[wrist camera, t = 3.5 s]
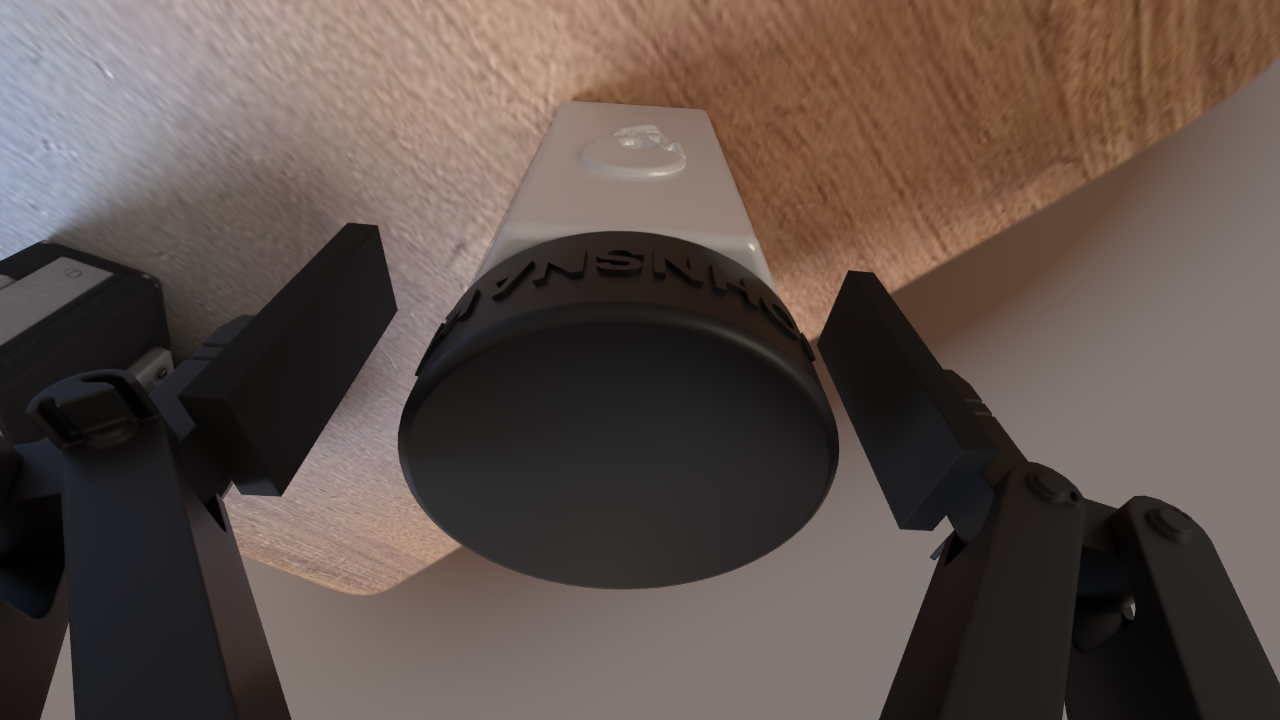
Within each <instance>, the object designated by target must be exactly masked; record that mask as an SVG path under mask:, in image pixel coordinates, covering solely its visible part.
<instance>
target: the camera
mask: <svg viewBox="0 0 1280 720" xmlns="http://www.w3.org/2000/svg"><path fill="white" fill-rule="evenodd" d="M100 369H121V370H124V371H127V372H130V373H133V375H134V376H135V377H136V379H137V380H138V381H139V383H140V384H141V385H142V387H143V388H144V390H145V391H146V393H147V394H148V395H149V394H150V393H151V392H152V391H153V390H154V389H155V388H156V387H157V386H158V385H159V384H160V383H161V382H162V381H163V380H164V379H165V378H166V377H168V376H169V375H170V374H171V373H172V372H173V371H174V365H173V360H172V354H171V351H170V344H169V337H168V330H167V324H166V317H165V310H164V304H163V297H162V291H161V284H160V282H159V280H158V279H157V278H154V277H152V276H150V275H148V274H145V273H142V272H139V271H136V270H134V269H131V268H128V267H125V266H122V265H119V264H116V263H113V262H110V261H107V260H104V259H101V258H98V257H95V256H92V255H89V254H85V253H82V252H79V251H76V250H73V249H70V248H67V247H64V246H61V245H58V244H55V243H52V242H49V241H46V240H42V241H40V242H38V243H36V244H34V245H32V246H30V247H28V248H26V249H24V250H22V251H20V252H18V253H16V254H14V255H12V256H10V257H8V258H6V259H4V260H2V261H0V435H1V436H2V437H3V438H4V439H5V440H6V441H7V442H8V443H9V444H10V445H11V446H12V445H19V444H26V443H32V442H39V441H45V440H49V439H48V438H47V437H46V435H45V434H44V433H43V432H42V431H41V430H40V429H39V428H38V427H37V426H36V425H35V424H34V423H33V422H32V421H31V420H30V419H29V418H28V417H27V416H26V414H25V411H26V408H27V406H28V403H29V402H30V401H31V400H32V399H33V398H34V397H35V396H36V395H38V394H39V393H40V392H41V391H42V390H44V389H46V388H48V387H49V386H51V385H53V384H55V383H57V382H58V381H60V380H63V379H66V378H69V377H71V376H74V375H77V374H80V373H84V372H89V371H95V370H100ZM232 485H233V481H232V480H231V478H230V477H229V478H228V479H227V480H226V482H225V483H224V484H223V486H222V487H221V488H220V490H219V491H218V492H217V493H218V495H219V496H220V498H221V499H222V500H223V499H224V497H225V496H226V495H227V493H228V492H229V490H230V488H231V486H232Z"/></svg>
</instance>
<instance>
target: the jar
mask: <svg viewBox="0 0 1280 720" xmlns="http://www.w3.org/2000/svg"><path fill="white" fill-rule="evenodd" d="M445 319H446V320H447V321H446V323H445V324H444V323H442V324H441V325H440V327H439V328H438V330H437V332H436V333H435V335H434V337H433V339H432V341H431V343H430V345H429V347H428V349H427V351H426V352H425V354H424V356H423V358H422V360H421V362H420V364H419V366H418V368H417V371H416V373H415V376H418V379H417V381H416V383H415V385H414V387H413V389H412V391H411V393H410V395H409V397H408V399H407V401H406V403H405V406H404V409H403V412H402V416H401V420H400V425H399V431H398V453H399V460H400V465H401V468H402V471H403V475H404V478H405V480H406V482H407V484H408V487H409V489H410V491H411V493H412V495H413V496H414V498H415V499H416V501H417V503H418V504H419V505H420V507H421V508H422V509H423V511H424V512H425V513H426V514H427V516H428V517H429V518H430V519H431V520H432V521H433V522H434V523H435V524H436V525H437V526H438V527H439V528H441V529H442V530H443V531H444V532H445V533H446V534H448V535H449V536H450V537H451V538H453V539H454V540H456V541H457V542H458V543H460V544H461V545H463V546H464V547H466V548H468V549H469V550H471V551H473V552H474V553H476V554H478V555H480V556H482V557H484V558H485V559H487V560H490V561H492V562H494V563H496V564H498V565H500V566H503V567H505V568H508V569H511V570H513V571H516V572H519V573H522V574H525V575H528V576H532V577H535V578H539V579H542V580H546V581H551V582H556V583H561V584H566V585H572V586H579V587H589V588H599V589H648V588H659V587H667V586H674V585H680V584H685V583H691V582H695V581H699V580H703V579H707V578H711V577H714V576H718V575H721V574H724V573H727V572H729V571H732V570H735V569H737V568H740V567H742V566H744V565H747V564H749V563H751V562H753V561H755V560H757V559H759V558H761V557H763V556H765V555H766V554H768V553H770V552H771V551H773V550H775V549H776V548H778V547H779V546H781V545H782V544H784V543H785V542H786V541H788V540H789V539H790V538H792V537H793V536H794V535H795V534H796V533H797V532H799V531H800V530H801V529H802V528H803V527H804V526H805V525H806V524H807V523H808V522H809V520H811V518H812V517H813V516H814V515H815V513H816V512H817V510H818V509H819V508H820V507H821V505H822V503H823V502H824V500H825V498H826V496H827V495H828V493H829V490H830V488H831V485H832V483H833V480H834V478H835V474H836V470H837V466H838V458H839V439H838V431H837V426H836V421H835V418H834V415H833V412H832V409H831V407H830V404H829V402H828V400H827V397H826V395H825V392H824V390H823V388H822V385H821V383H820V380H819V378H818V375H817V373H816V370H815V368H814V366H813V363H812V362H813V361H814V360H815V356H814V354H813V352H812V349H811V347H810V345H809V343H808V341H807V339H806V337H805V336H804V334H803V333H800V331H799V329H798V327H797V325H796V323H795V321H794V319H793V317H792V316H791V314H790V312H789V311H788V309H787V308H786V306H785V305H784V304H783V302H782V301H781V299H780V297H779V294H778V291H777V289H776V286H775V283H774V281H773V278H772V276H771V273H770V270H769V268H768V265H767V262H766V260H765V257H764V255H763V252H762V249H761V247H760V244H759V242H758V239H757V237H756V234H755V231H754V229H753V226H752V224H751V221H750V219H749V216H748V214H747V211H746V209H745V206H744V204H743V201H742V199H741V196H740V194H739V191H738V189H737V186H736V184H735V181H734V179H733V176H732V174H731V171H730V169H729V166H728V164H727V161H726V159H725V156H724V154H723V151H722V149H721V146H720V144H719V141H718V139H717V136H716V134H715V131H714V129H713V126H712V124H711V121H710V118H709V116H708V114H707V112H706V111H704V110H702V109H693V108H677V107H661V106H645V105H630V104H615V103H600V102H585V101H570V100H568V101H564V102H562V103H561V105H560V106H559V108H558V110H557V112H556V114H555V116H554V118H553V120H552V122H551V124H550V126H549V128H548V130H547V132H546V134H545V135H544V137H543V139H542V141H541V143H540V145H539V147H538V149H537V151H536V153H535V155H534V157H533V159H532V161H531V163H530V165H529V167H528V169H527V171H526V172H525V174H524V176H523V178H522V180H521V182H520V184H519V186H518V188H517V190H516V192H515V194H514V196H513V198H512V200H511V202H510V204H509V206H508V208H507V210H506V211H505V214H504V216H503V218H502V220H501V222H500V224H499V226H498V228H497V230H496V232H495V234H494V236H493V238H492V240H491V242H490V244H489V246H488V248H487V250H486V252H485V254H484V256H483V258H482V260H481V262H480V265H479V267H478V269H477V271H476V273H475V275H474V277H473V279H472V281H471V283H470V285H469V287H468V289H467V291H466V293H465V294H464V295H463V296H462V297H461V299H460V300H459V301H458V303H457V304H456V306H455V307H454V309H453V310H452V311H451V312H450V313H449V315H448V316H447V317H446V318H445Z"/></svg>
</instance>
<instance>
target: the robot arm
mask: <svg viewBox="0 0 1280 720" xmlns="http://www.w3.org/2000/svg"><path fill="white" fill-rule="evenodd" d="M397 311H398V310H397V306H396V301H395V297H394V293H393V289H392V284H391V280H390V276H389V271H388V267H387V263H386V259H385V254H384V250H383V246H382V242H381V237H380V233H379V229H378V225H367V224H357V223H347V224H346V225H345V226H344V227H343V228H342V229H341V230H340V231H339V232H338V233H337V234H336V235H335V236H334V237H333V238H332V239H331V240H330V241H329V242H328V243H327V244H326V245H325V246H324V247H323V248H322V249H321V250H320V251H319V252H318V253H317V254H316V255H315V257H314V258H313V259H312V260H311V261H310V262H309V263H308V264H307V265H306V266H305V267H304V268H303V269H302V270H301V271H300V272H299V273H298V274H297V275H296V276H295V277H294V278H293V279H292V280H291V281H290V282H289V283H288V284H287V285H286V286H285V287H284V288H283V289H282V290H281V291H280V292H279V293H278V294H277V295H276V296H275V297H274V298H273V299H272V300H271V301H270V302H269V303H268V304H267V305H266V306H265V307H264V308H263V309H262V310H261V311H260V312H259V313H258V314H257V315H256V316H254V315H242V316H240V317H238V318H236V319H234V320H232V321H230V322H229V323H227V324H225V325H223V326H221V327H219V328H218V329H217V330H216V331H215V332H214V333H213V334H212V335H211V336H210V337H209V338H208V339H207V340H205V341H204V342H203V346H199V347H198V348H197V349H196V350H195V351H194V352H193V353H192V354H191V355H190V356H189V360H187V359H185V360H184V361H183V362H182V363H181V364H180V365H179V366H178V367H177V368H176V369H175V370H174V371H173V372H172V373H171V374H170V375H169V376H168V377H166V378H165V379H164V380H163V381H162V382H161V383H160V384H159V385H158V386H157V387H156V388H155V389H154V390H153V391H152V392H151V393H150V394H149V395H148V394H147V393H146V391H145V390H144V388H143V387H142V385H141V384H140V383H139V381H138V380H137V379H136V377H135V376H134V375H133V373H130V372H127V371H124V370H121V369H100V370H95V371H89V372H84V373H80V374H77V375H74V376H71V377H69V378H66V379H63V380H60V381H58V382H57V383H55V384H53V385H51V386H49V387H48V388H46V389H44V390H42V391H41V392H40V393H39V394H38V395H36V396H35V397H34V398H33V399H32V400H31V401H30V402H29V403H28V406H27V408H26V411H25V414H26V416H27V417H28V418H29V419H30V420H31V421H32V422H33V423H34V424H35V425H36V426H37V427H38V428H39V429H40V430H41V431H42V432H43V433H44V434H45V435H46V437H47V438H48V439H49V440H45V441H39V442H32V443H26V444H19V445H12V446H11V445H10V444H9V443H8V442H7V441H6V440H5V439H4V438H3V437H2V436H1V435H0V720H40V718H41V714H42V711H43V708H44V704H45V701H46V698H47V694H48V691H49V687H50V684H51V681H52V677H53V674H54V670H55V667H56V664H57V660H58V657H59V653H60V650H61V647H62V643H63V640H64V636H65V633H66V629H67V626H68V623H69V626H70V642H71V659H72V674H73V690H74V706H75V720H291V717H290V713H289V710H288V707H287V704H286V701H285V697H284V694H283V691H282V688H281V684H280V681H279V678H278V675H277V672H276V669H275V665H274V662H273V659H272V655H271V652H270V649H269V646H268V643H267V640H266V636H265V633H264V630H263V627H262V623H261V620H260V617H259V614H258V611H257V607H256V604H255V601H254V598H253V594H252V591H251V588H250V585H249V581H248V578H247V575H246V572H245V569H244V566H243V562H242V559H241V556H240V553H239V549H238V546H237V543H236V540H235V536H234V533H233V530H232V527H231V524H230V520H229V517H228V514H227V511H226V508H225V504H224V502H223V500H222V499H221V498H220V496H219V495H218V493H217V492H218V491H219V490H220V488H221V487H222V486H223V484H224V483H225V482H226V480H227V479H228V478H229V477H230V478H231V480H232V481H233V483H234V484H235V486H236V487H237V489H238V490H239V492H240V493H241V494H242V495H261V496H280V497H281V496H282V495H283V493H284V491H285V490H286V488H287V487H288V485H289V483H290V482H291V480H292V479H293V477H294V475H295V474H296V472H297V471H298V469H299V467H300V466H301V464H302V463H303V461H304V459H305V458H306V456H307V455H308V453H309V451H310V450H311V448H312V447H313V445H314V443H315V442H316V440H317V439H318V437H319V435H320V434H321V432H322V431H323V429H324V427H325V426H326V424H327V423H328V421H329V419H330V418H331V416H332V415H333V413H334V411H335V410H336V408H337V407H338V405H339V403H340V402H341V400H342V399H343V397H344V395H345V394H346V392H347V391H348V389H349V387H350V386H351V384H352V383H353V381H354V379H355V378H356V376H357V375H358V373H359V371H360V370H361V368H362V367H363V365H364V363H365V362H366V360H367V359H368V357H369V355H370V354H371V352H372V351H373V349H374V347H375V346H376V344H377V343H378V341H379V339H380V338H381V336H382V335H383V333H384V331H385V330H386V328H387V327H388V325H389V323H390V322H391V320H392V319H393V317H394V315H395V314H396V312H397ZM817 347H818V349H819V351H820V354H821V356H822V358H823V360H824V363H825V365H826V367H827V369H828V371H829V374H830V376H831V378H832V380H833V382H834V384H835V387H836V389H837V391H838V393H839V396H840V398H841V400H842V402H843V405H844V407H845V409H846V411H847V413H848V416H849V418H850V420H851V422H852V425H853V427H854V429H855V431H856V433H857V436H858V438H859V440H860V442H861V444H862V447H863V449H864V451H865V453H866V456H867V458H868V460H869V462H870V464H871V467H872V469H873V471H874V473H875V475H876V477H877V480H878V482H879V484H880V487H881V489H882V491H883V493H884V495H885V498H886V500H887V502H888V504H889V507H890V509H891V511H892V513H893V515H894V518H895V520H896V522H897V524H898V526H899V529H906V530H924V531H933V530H934V528H935V527H936V526H937V525H938V524H939V523H940V521H941V520H942V519H943V518H944V517H945V516H946V515H947V517H948V519H949V521H950V522H951V524H952V526H953V528H954V531H953V532H952V533H951V534H950V535H949V536H948V537H947V538H946V540H945V541H944V542H943V543H942V544H941V545H940V546H939V547H938V548H937V549H936V550H935V552H934V553H933V554H932V555H931V556H930V558H931V559H933V560H936V558H937V557H938V556H939V555H940V557H939V560H938V563H937V565H936V568H935V571H934V573H933V576H932V579H931V582H930V584H929V587H928V590H927V593H926V595H925V598H924V600H923V603H922V606H921V608H920V611H919V614H918V616H917V619H916V622H915V624H914V627H913V630H912V633H911V635H910V638H909V641H908V643H907V646H906V649H905V651H904V654H903V657H902V659H901V662H900V665H899V667H898V671H897V673H896V675H895V678H894V681H893V684H892V686H891V689H890V692H889V694H888V697H887V700H886V703H885V705H884V708H883V710H882V713H881V716H880V718H879V720H1062V716H1063V707H1064V701H1065V707H1066V713H1067V719H1068V720H1280V683H1279V681H1278V679H1277V677H1276V675H1275V673H1274V671H1273V669H1272V667H1271V664H1270V662H1269V660H1268V658H1267V656H1266V654H1265V652H1264V650H1263V648H1262V646H1261V644H1260V641H1259V639H1258V637H1257V635H1256V633H1255V631H1254V629H1253V627H1252V625H1251V623H1250V621H1249V619H1248V617H1247V614H1246V612H1245V610H1244V608H1243V606H1242V604H1241V602H1240V600H1239V598H1238V596H1237V593H1236V591H1235V589H1234V588H1233V585H1232V583H1231V581H1230V579H1229V577H1228V575H1227V573H1226V570H1225V568H1224V566H1223V564H1222V562H1221V560H1220V558H1219V556H1218V554H1217V552H1216V549H1215V547H1214V545H1213V543H1212V541H1211V540H1210V538H1209V537H1208V535H1207V534H1206V533H1205V531H1204V530H1203V529H1202V528H1201V527H1200V526H1199V525H1198V524H1197V523H1196V522H1195V521H1194V520H1192V518H1191V517H1190V516H1188V515H1187V514H1186V513H1184V512H1182V511H1181V510H1180V509H1178V508H1176V507H1174V506H1172V505H1170V504H1168V503H1165V502H1163V501H1161V500H1159V499H1155V498H1152V497H1148V496H1134V497H1133V498H1131V499H1130V500H1129V501H1128V502H1126V503H1125V504H1124V505H1123V506H1121V507H1120V508H1119V509H1117V508H1114V507H1111V506H1107V505H1104V504H1101V503H1098V502H1095V501H1092V500H1088V499H1085V498H1084V497H1083V496H1082V494H1081V493H1080V492H1079V490H1078V489H1077V487H1076V486H1075V485H1073V484H1072V483H1071V482H1070V481H1069V480H1068V479H1067V478H1066V477H1064V476H1063V475H1061V474H1059V473H1058V472H1056V471H1054V470H1053V469H1051V468H1049V467H1046V466H1044V465H1041V464H1039V463H1034V462H1028V461H1027V459H1026V458H1025V457H1024V455H1023V454H1022V453H1021V451H1020V450H1019V449H1018V447H1017V446H1016V445H1015V443H1014V442H1013V441H1012V439H1011V438H1010V437H1009V435H1008V434H1007V433H1006V432H1005V430H1004V429H1003V427H1002V426H1001V425H1000V423H999V422H998V421H997V419H996V418H995V417H992V413H991V412H990V410H989V409H988V408H987V407H986V405H985V404H983V403H982V400H981V398H980V397H979V396H978V394H977V393H976V392H975V390H974V389H973V388H972V386H971V385H970V384H969V383H968V382H966V381H965V380H964V379H962V378H961V377H960V376H959V375H958V374H956V373H955V372H954V371H953V370H946V369H942V367H941V366H940V364H939V363H938V362H937V360H936V359H935V357H934V356H933V355H932V353H931V352H930V351H929V349H928V348H927V346H926V345H925V343H924V342H923V341H922V339H921V338H920V337H919V335H918V334H917V332H916V331H915V330H914V328H913V327H912V325H911V324H910V323H909V321H908V320H907V318H906V317H905V316H904V314H903V313H902V312H901V310H900V309H899V307H898V306H897V304H896V303H895V302H894V300H893V299H892V298H891V296H890V295H889V293H888V292H887V291H886V289H885V288H884V286H883V285H882V284H881V282H880V281H879V279H878V278H877V277H876V275H875V274H874V273H871V272H861V271H850V270H848V272H847V275H846V277H845V279H844V282H843V284H842V286H841V289H840V291H839V293H838V296H837V298H836V301H835V303H834V305H833V308H832V310H831V312H830V315H829V317H828V319H827V322H826V324H825V326H824V329H823V331H822V333H821V336H820V338H819V341H818V343H817ZM1134 603H1135V609H1136V610H1135V616H1133V612H1132V609H1131V606H1130V605H1132V604H1134Z"/></svg>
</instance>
